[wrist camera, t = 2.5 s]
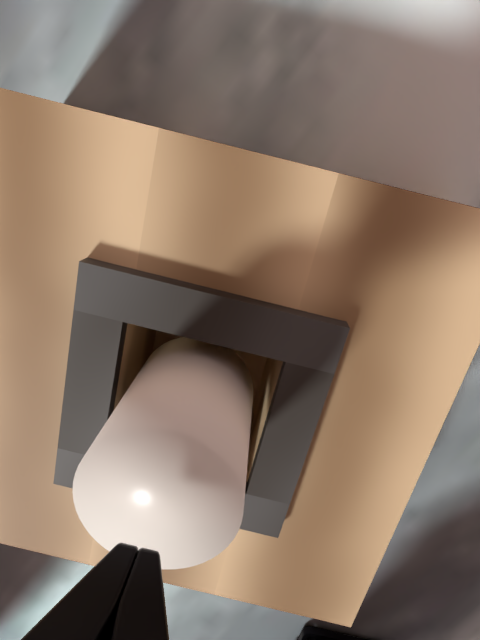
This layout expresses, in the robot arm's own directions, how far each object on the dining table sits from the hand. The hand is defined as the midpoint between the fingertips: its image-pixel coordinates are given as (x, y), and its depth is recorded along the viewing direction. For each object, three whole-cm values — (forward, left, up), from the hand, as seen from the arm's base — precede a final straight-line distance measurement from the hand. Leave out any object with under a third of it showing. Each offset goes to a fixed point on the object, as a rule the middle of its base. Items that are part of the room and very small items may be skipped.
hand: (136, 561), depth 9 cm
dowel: (0, 0, -7) cm, 7 cm away
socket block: (0, 0, -12) cm, 12 cm away
